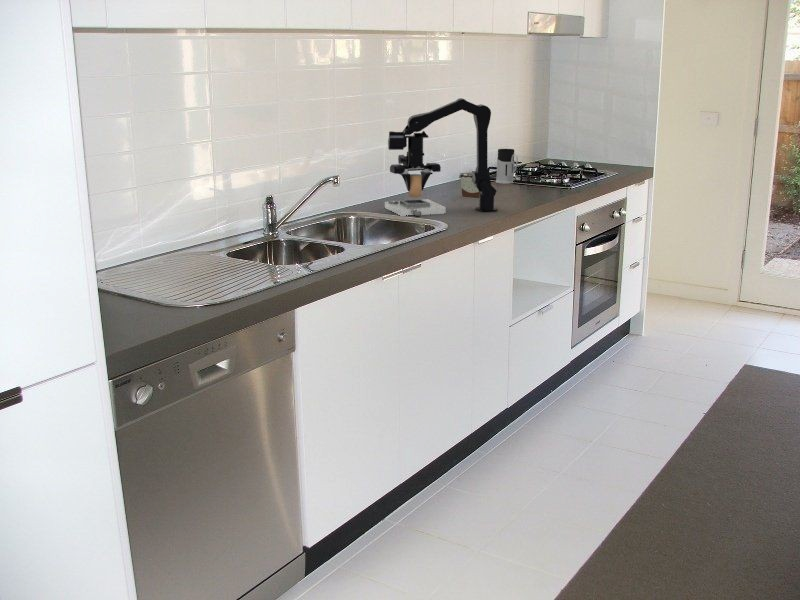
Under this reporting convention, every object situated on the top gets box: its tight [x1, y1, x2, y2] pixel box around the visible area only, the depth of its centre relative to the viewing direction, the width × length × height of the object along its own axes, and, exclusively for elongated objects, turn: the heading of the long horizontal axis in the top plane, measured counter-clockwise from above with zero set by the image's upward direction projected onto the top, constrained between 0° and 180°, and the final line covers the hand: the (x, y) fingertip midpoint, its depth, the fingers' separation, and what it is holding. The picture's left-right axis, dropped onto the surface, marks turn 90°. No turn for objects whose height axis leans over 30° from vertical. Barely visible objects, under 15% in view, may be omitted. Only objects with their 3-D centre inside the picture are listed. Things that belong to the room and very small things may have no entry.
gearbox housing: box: [384, 198, 447, 217], centre depth 337 cm, size 21×18×4 cm
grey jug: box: [495, 148, 519, 185], centre depth 405 cm, size 9×14×15 cm, turn 24°
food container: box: [458, 171, 480, 200], centre depth 368 cm, size 12×6×10 cm, turn 59°
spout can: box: [408, 173, 423, 198], centre depth 337 cm, size 7×5×8 cm
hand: (415, 190), depth 337 cm, fingers closed on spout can, 5 cm apart
